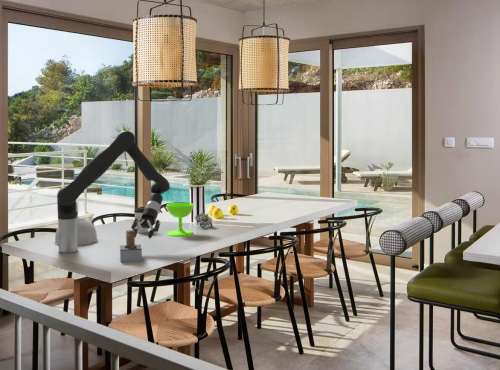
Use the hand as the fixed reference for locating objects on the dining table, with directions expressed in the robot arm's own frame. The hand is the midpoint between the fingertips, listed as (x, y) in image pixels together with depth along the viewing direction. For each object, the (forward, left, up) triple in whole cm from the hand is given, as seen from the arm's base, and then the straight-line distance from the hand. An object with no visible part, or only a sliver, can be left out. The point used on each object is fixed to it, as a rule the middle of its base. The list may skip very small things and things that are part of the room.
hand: (141, 237), depth 287 cm
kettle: (-34, +43, -9) cm, 56 cm away
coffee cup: (+3, +61, -9) cm, 62 cm away
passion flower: (+42, +67, -9) cm, 80 cm away
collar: (-6, -10, -9) cm, 14 cm away
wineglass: (+25, +48, -9) cm, 55 cm away
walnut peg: (-6, -10, -9) cm, 14 cm away
